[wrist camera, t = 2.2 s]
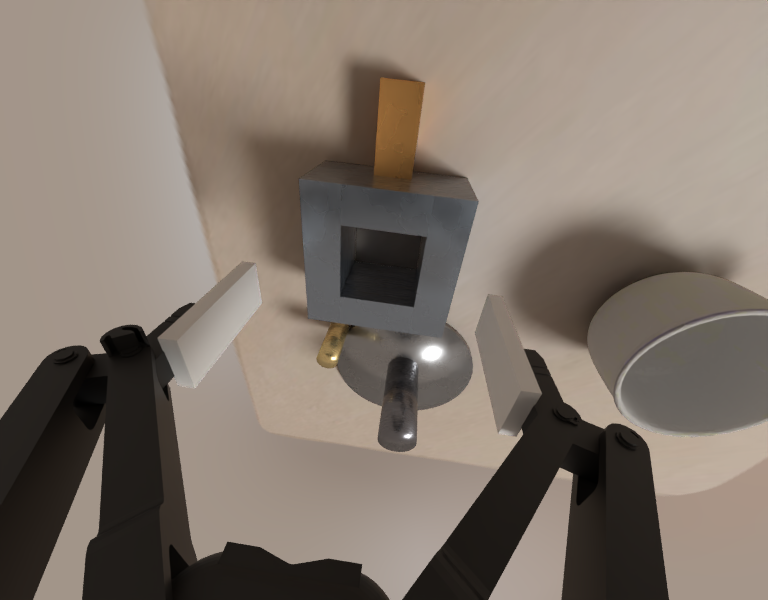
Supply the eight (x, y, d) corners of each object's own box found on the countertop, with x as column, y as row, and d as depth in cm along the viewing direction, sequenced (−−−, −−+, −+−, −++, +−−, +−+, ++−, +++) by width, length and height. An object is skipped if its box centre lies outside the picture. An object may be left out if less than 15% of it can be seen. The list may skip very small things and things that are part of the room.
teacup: (561, 359, 29) (601, 437, 23) (585, 258, 23) (647, 323, 17) (733, 354, 27) (834, 440, 20) (809, 240, 21) (987, 308, 14)
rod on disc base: (338, 300, 28) (309, 370, 21) (489, 322, 28) (510, 401, 20) (338, 395, 36) (316, 469, 29) (454, 414, 36) (461, 493, 28)
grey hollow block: (439, 296, 27) (441, 338, 22) (327, 281, 27) (308, 318, 23) (488, 90, 18) (508, 89, 14) (324, 72, 18) (291, 65, 14)
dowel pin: (331, 315, 29) (316, 351, 25) (349, 318, 29) (337, 354, 25) (331, 329, 30) (317, 366, 26) (349, 332, 30) (337, 369, 26)
